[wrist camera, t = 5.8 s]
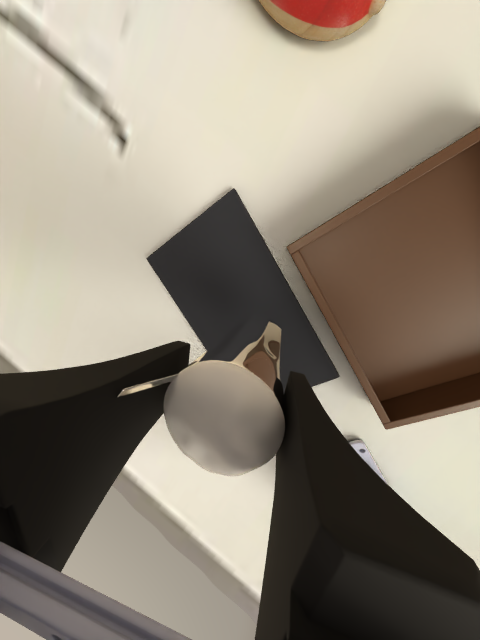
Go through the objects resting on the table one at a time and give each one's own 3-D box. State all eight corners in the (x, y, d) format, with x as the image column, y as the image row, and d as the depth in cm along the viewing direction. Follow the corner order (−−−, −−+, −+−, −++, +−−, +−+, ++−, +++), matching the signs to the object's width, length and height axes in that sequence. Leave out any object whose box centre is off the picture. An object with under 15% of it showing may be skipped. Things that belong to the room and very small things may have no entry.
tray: (572, 348, 16) (629, 370, 13) (374, 405, 20) (385, 430, 18) (491, 119, 13) (541, 88, 10) (287, 246, 18) (286, 246, 15)
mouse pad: (339, 374, 20) (339, 377, 20) (246, 407, 24) (245, 410, 23) (235, 189, 17) (233, 187, 17) (148, 258, 21) (146, 258, 21)
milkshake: (250, 281, 14) (161, 344, 5) (308, 339, 15) (317, 497, 6) (208, 325, 16) (86, 429, 7) (260, 376, 16) (206, 541, 7)
